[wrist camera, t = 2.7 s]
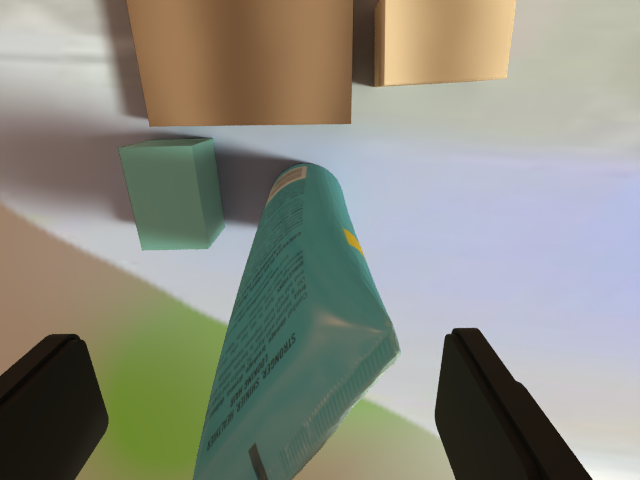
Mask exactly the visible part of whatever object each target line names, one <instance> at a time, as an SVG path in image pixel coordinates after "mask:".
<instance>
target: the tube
mask: <svg viewBox="0 0 640 480" xmlns="http://www.w3.org/2000/svg"><path fill="white" fill-rule="evenodd" d="M400 353H401V351H400V347H399V343H398V339H397V336H396V333H395V330H394V327H393V324H392V322H391V320H390V318H389V316H388V314H387V312H386V309H385V307H384V305H383V303H382V300H381V298H380V296H379V293H378V291H377V288H376V286H375V283H374V281H373V278H372V276H371V273H370V271H369V268H368V265H367V263H366V260H365V257H364V255H363V252H362V249H361V247H360V244H359V242H358V239H357V237H356V234H355V231H354V228H353V225H352V223H351V220H350V217H349V214H348V211H347V207H346V204H345V200H344V196H343V192H342V189H341V186H340V184H339V182H338V180H337V179H336V178H335V176H334V175H333V174H332V173H331V172H329V171H328V170H326V169H325V168H323V167H321V166H318V165H315V164H305V163H304V164H298V165H295V166H292V167H290V168H288V169H286V170H285V171H284V172H282V173H281V174H280V175H279V176H278V178H277V179H276V181H275V182H274V184H273V186H272V189H271V191H270V194H269V197H268V200H267V202H266V205H265V208H264V211H263V214H262V217H261V220H260V223H259V226H258V229H257V232H256V235H255V238H254V241H253V244H252V248H251V251H250V254H249V257H248V260H247V263H246V266H245V270H244V273H243V276H242V280H241V283H240V286H239V290H238V293H237V297H236V300H235V304H234V307H233V311H232V315H231V318H230V322H229V325H228V329H227V332H226V336H225V340H224V344H223V347H222V351H221V355H220V359H219V363H218V367H217V371H216V375H215V379H214V383H213V387H212V391H211V395H210V400H209V404H208V409H207V413H206V417H205V422H204V426H203V432H202V436H201V440H200V445H199V449H198V454H197V459H196V465H195V470H194V476H193V480H292V479H293V478H294V477H295V476H296V475H297V474H298V473H299V472H300V471H301V470H302V469H303V467H304V466H305V465H306V464H307V463H308V461H310V460H311V459H312V457H314V455H315V454H316V453H317V452H318V451H319V450H320V449H321V448H322V447H323V445H324V444H325V443H326V441H327V440H328V439H329V438H330V436H331V435H332V434H333V433H334V432H335V431H336V430H337V428H338V427H339V426H340V425H341V423H342V422H343V420H344V419H345V417H346V416H347V414H348V413H349V412H350V410H351V409H352V408H353V406H354V405H355V404H356V403H357V402H358V401H359V400H360V399H361V398H362V397H363V396H364V395H365V394H366V393H367V392H368V390H369V389H370V388H371V387H372V386H373V385H374V384H375V383H376V382H377V380H378V379H379V378H380V377H381V376H382V375H383V374H384V373H385V372H386V371H387V370H388V369H389V368H390V367H391V366H392V365H393V364H394V363H395V362H396V360H397V359H398V358H399V357H400Z"/></svg>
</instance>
